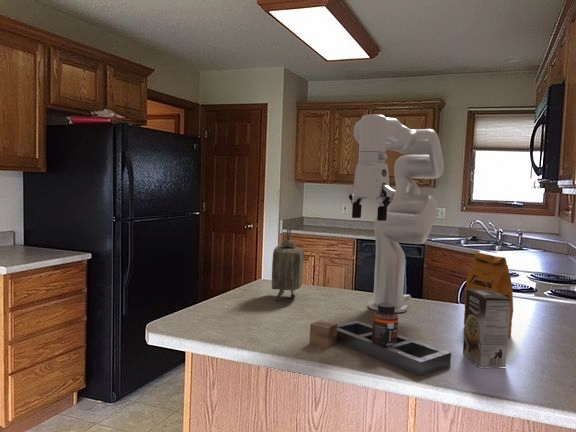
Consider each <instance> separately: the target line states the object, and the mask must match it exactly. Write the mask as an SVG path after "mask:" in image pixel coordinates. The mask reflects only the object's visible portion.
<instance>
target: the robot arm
mask: <svg viewBox="0 0 576 432" xmlns="http://www.w3.org/2000/svg"><path fill="white" fill-rule="evenodd" d="M353 137H354V139H355V141H356V142H357V143H358V144H359V145H358V162H357V164H356V167H355V168H356V169H355V172H354V179H353V184H352V186H350V187H348V188H347V190H346V192H347V194H348V199H349V201H350V204H351V205H352V206H351V207H352V208H351V209H352V212H351V218H352V219H361V217H362V207H363V206H362V203H361V202H362V201H363V200H364V199H366V200H367V199H368V200H370V199H371V200H376V201H377V203H378V207H377V216H376V217H375V219H374V222H373V225H374V226H373V228H374V235H375V236H374V239H375V261H374V278H373V281H374V283H373V295H372V296H373V297H372V298H373V299H372V300H370V301H369V302H368V303H367V304H368V308H370V310H374V311H375V312H377V311H378V304H379V303H390V304H393V305H395V311H394V312H395V314H397V313H398V314H399V313H405V312H406V311H407V310H408V305H407V304H405V302H406V301H411V299H412V296H411V295H410V294H406V293H405V294H404V285H405V284H404V283H405V271H406V270H405V267H406V255H405V252H404V250H403V247H401V244H400V243H403V244H413V245H422V244H424V243H426V242H427V240H428V238H429V236H430V234H431V231H432V228H433V225H434V223H435V219H436V216H437V212H438V211H437V210H438V206H437V201H436V199H435V197H433V196H432V195H430V194H424V193H423V194H421V188H420V187H419V185H418V184H417V183H416V182H415V181H414V180H413V179H421V180H424V179H425V180H429V179H430V180H434V179H438V178H441V176H442V175H443V173H444V169H445V168H444V166H445V164H444V158H443V157H444V156H443V152H442V147H441V146H442V145H441V142H440V138H439V135H438V134H437V132H436V131H435V130H434V129H431V128H425V129H423V128H421V129H418V128H415V129H411V128H409V127H407V126H405V125H403V124H402V123H401V121H400V120H399V119H397V118H394V117H386V116H385V115H383V114H377V113H376V114H375V113H374V114H365V115H363V116H362V117H361V119H359V120H358V121H357V122H356V123H355V124H354V128H353ZM387 151H394V152H398V153H400V154H403V155H401V156H399V157H398V158H396V160H395V162H394V165H393V166H394V167H393V174H394V181H395V183H394V184H395V190H394V189H393V188H391V187H390V174H389V166H388V164H387V163H386V160H387V159H388V158H389V157H388V154H386V152H387Z"/></svg>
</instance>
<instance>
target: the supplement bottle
mask: <svg viewBox="0 0 576 432" xmlns="http://www.w3.org/2000/svg"><path fill="white" fill-rule="evenodd" d="M394 311H395V305H393V304H390V303H379V304H378V311H375V312H374V313H373V315H372V316H373V319H372V326H373V329H372V341H375V342H378V343H380V344H383V345H386V346H388V345H392V344H396V343H397V334H398V328H399V316H398V314H397V313H395V312H394Z"/></svg>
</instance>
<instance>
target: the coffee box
mask: <svg viewBox="0 0 576 432" xmlns="http://www.w3.org/2000/svg"><path fill="white" fill-rule="evenodd" d="M466 290H467V293H466V309H465V308H464V312H465V325H464V329H463V342H462V343H463V344H462V355H464V356H465V357H466V358H467V357H468V358H467V359H469V360H470V361H471V360H472V361H473V364H475V363H476V364H477V365H478V366H477V365H476V364H475V365H476V366H477V367H479V366H480V367H506V368H507V357H508V356H507V355H508V354H507V353H508V344H509V343H508V342H509V337H508V332H509V320H510V308H511V298H508V297H506V296H504V295H502V294H499V293H497V292H495V291H493V290H484V289H466V288H465V291H466ZM472 361H471V362H472ZM480 367H479V368H480Z"/></svg>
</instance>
